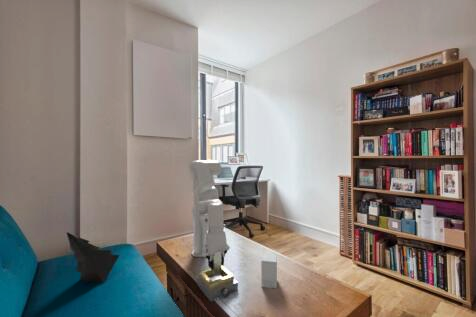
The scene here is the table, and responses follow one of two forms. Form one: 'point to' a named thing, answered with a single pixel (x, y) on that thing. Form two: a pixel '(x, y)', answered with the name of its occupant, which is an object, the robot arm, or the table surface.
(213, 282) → the grey and gold box
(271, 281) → the supplement box
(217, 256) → the pale green bottle
